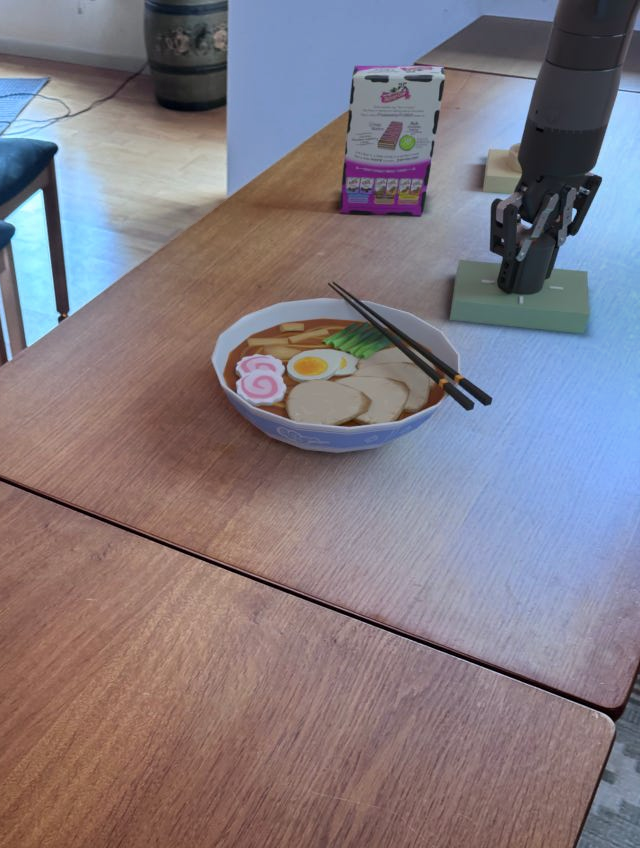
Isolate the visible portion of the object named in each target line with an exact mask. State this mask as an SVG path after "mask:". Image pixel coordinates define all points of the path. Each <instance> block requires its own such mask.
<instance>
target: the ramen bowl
mask: <svg viewBox="0 0 640 848" xmlns="http://www.w3.org/2000/svg"><path fill="white" fill-rule="evenodd" d="M327 285H328V286H329V287H330V288H331V289H332V290H333V291H334V292H336V293H337V294H338V295H339V296H340V297H341V298H330V297H319V298H309V299H299V300H292V301H283V302H282V301H281V302H278V303H275V304H273V305H269V306H267V307H264V308H261V309H259V310H256V311H253V312H250V313H247V314H245V315H243V316H242V317H240V318H239V319H238V320H236V321H235V322H233V323H232V325H230V326H229V327H228V328H227V329H225V330H224V331H222V332H221V333H220V334H219V335H218V338H217V341H216V344H215V347H214V349H213V353H212V355H211V358H210V359H211V363H212V365H213V368H214V371H215V373H216V376H217V378H218V381H219V384H220V386H221V388H222V389H223V391H224V393H225V395H226V398H227V399H228V401H229V402H230V403H231V404H232V406H233V407H234V408H235V409H236V410H237V411H236V412H239V413H240V415H242V417H244V418H245V419H246V420H247V421H249V422H250V423H251V424H252V425H253V426H255V427H256V428H257V429H259V430H260V431H261V432H263V433H264V434H265V435H267V436H268V437H269V438H272V439H274V440H277V441H280V442H283V443H285V444H288V445H291V446H293V447H296V448H298V449H301V450H306V451H314V452H323V453H324V452H325V453H335V454H340V453H349V452H354V451H355V452H356V451H363V450H364V451H365V450H373V449H378V448H380V447H383V446H385V445H386V444H389V443H392V442H393V441H395V440H397V439H400V438H402V437H404V436H407V435H408V434H410V433H411V432H413V431H415V430H416V429H418V428H419V427H420V426H422V425H423V424H425V422H427V421H428V420H429V419H430V418H431V417H432V416H433V415H434V414H435V412H436V411H437V410H438V409H439V408H440V407H441V405H443V404H444V402H445V401H446V400H447V398H449V396H450V397H451V398H452V399H453V400H454V401H455V402H456V403H458V404H459V406H461V408H463V409H464V410H465V411H466V412H468V411H473V410H474V407H475V405H476V404H475V402H474V401H473V400H472V399H471V398H470V397H468V396H467V395H466V394H464V393H463V392H462V391H461V390H460V389H458V388H457V387H458V386H459V387H460V388H462V389H463V390H464V391H465V392H467V393H468V394H469V395H471V397H473V398H474V399H475V400H477V401H478V402H479V403H481V404H482V405H483V406H484V407H487V406H491V405H492V402H493V399H494V398H493V397H492V396H490V395H489V394H488V393H486V392H485V391H484V390H483V389H481V388H480V387H478V386H477V385H476V384H474V383H473V382H471V381H470V380H469V379H467V378H466V377H464V376H462V355H461V353H460V352H459V351H458V350H457V348H456V347H455V345H454V344H453V343H452V342H451V340H450V339H449V337H447V335H446V334H445V332H444V331H443V330H441V329H439V328H437V327H436V326H434V325H433V324H430V323H428V322H427V321H425V320H423V319H422V318H420V317H418V316H416V315H414V314H413V313H411V312H408V311H405V310H401V309H398V308H395V307H391V306H388V305H384V304H381V303H377V302H373V301H369V300H361V299H358V298H356V297H355V296H354V295H352V293H350V292H349V291H347V290H346V289H344V288H343V287H342V286H340V285H339V284H338V283H336V281H332V284H331V283H330V282H327ZM333 285H334V286H333ZM341 291H342V292H341ZM346 295H347V296H348V297H347V296H346Z"/></svg>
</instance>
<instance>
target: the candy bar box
mask: <svg viewBox="0 0 640 848" xmlns="http://www.w3.org/2000/svg"><path fill="white" fill-rule="evenodd" d="M445 80H446V74H445V65H354V67H353V72H352V77H351V86H350V95H349V106H348V117H347V126H346V136H345V145H344V146H345V147H344V155H343V168H342V177H341V187H340V188H341V189H340V196H339V206H338V212H339V214H347V215H349V214H350V215H373V216H374V215H375V216H377V215H378V216H407V217H408V216H410V217H411V216H412V217H421V216H423V215H424V210H425V205H426V204H425V203H426V199H427V198H426V197H427V191H428V186H429V179H430V175H431V174H430V173H431V167H432V161H433V156H434V150H435V149H434V148H435V144H436V143H435V142H436V136H437V130H438V124H439V119H440V114H441V113H440V112H441V106H442V101H443V95H444V94H443V93H444V90H445V82H446V81H445Z"/></svg>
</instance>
